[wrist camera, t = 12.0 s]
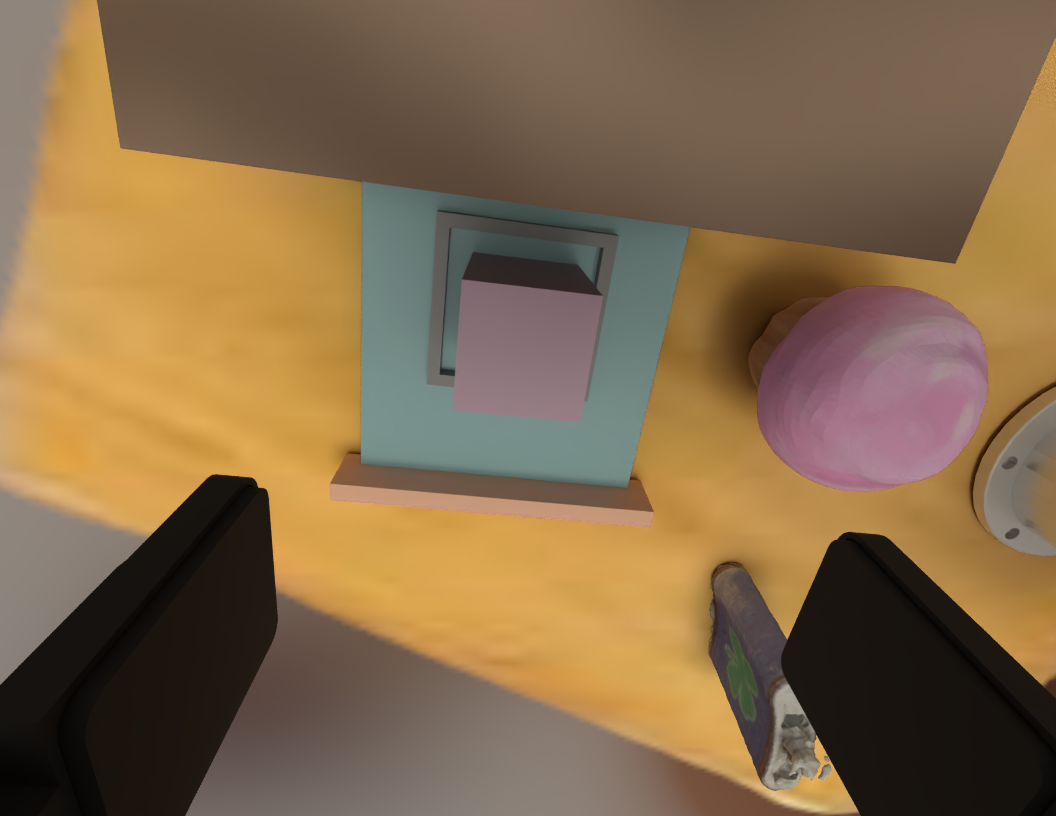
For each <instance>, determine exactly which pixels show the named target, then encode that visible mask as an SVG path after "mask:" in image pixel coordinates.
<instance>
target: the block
mask: <svg viewBox="0 0 1056 816" xmlns="http://www.w3.org/2000/svg"><path fill="white" fill-rule="evenodd" d="M602 300H603V295H602V294H601V293H600V291H599V290H598V289H597V288H596V286H595V285H594V284H593V283H592V281H591V280H590V279H589V278H588V276H587V275H586V274H585V273H584V271H583V270H582V269H581V268H580V266H579V265H576V264H568V263H559V262H551V261H543V260H535V259H527V258H519V257H510V256H502V255H494V254H486V253H478V252H473V253H472V255H471V258H470V260H469V263H468V265H467V268H466V270H465V273H464V275H463V278H462V285H461V299H460V312H459V326H458V339H457V353H456V367H455V380H454V394H453V407H452V410H454V411H464V412H474V413H485V414H495V415H506V416H516V417H527V418H537V419H547V420H558V421H568V422H579V423H580V421H581V416H582V410H583V405H584V399H585V394H586V388H587V383H588V377H589V372H590V366H591V361H592V355H593V349H594V344H595V338H596V333H597V327H598V322H599V316H600V311H601V305H602Z"/></svg>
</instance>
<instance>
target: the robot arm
mask: <svg viewBox="0 0 1056 816" xmlns="http://www.w3.org/2000/svg"><path fill="white" fill-rule="evenodd" d="M973 501H974V509H975V511H976V514H977V517H978V520H979V521H980V523H981V524H982V525H983V527H984V528H985V529H986V531H987V532H989V533H990V534H991V535H993V536H994V537H995V538H996V539H998V540H999V541H1000V542H1001V543H1003V544H1005V545H1006V546H1008V547H1010V548H1012V549H1013V550H1015V551H1019V552H1022V553H1026V554H1029V555H1039V556H1056V387H1054V388H1052V389H1050V390H1049V391H1047V392H1045V393H1043V394H1042V395H1040V396H1039V397H1037V398H1036V399H1035V400H1033V401H1032V402H1031V403H1029V404H1028V405H1026V406H1025V407H1024V408H1023V409H1021V410H1020V411H1019V412H1018V413H1017V414H1016V415H1015V416H1014V417H1013V418H1012V419H1011V420H1010V421H1009V422H1008V423H1007V424H1006V425H1005V426H1004V427H1003V428H1002V430H1001V431H1000V432H999V433H998V435H997V436H996V437H995V438H994V440H993V441H992V443H991V444H990V446H989V448H988V449H987V451H986V453H985V454H984V456H983V458H982V460H981V463H980V465H979V468H978V471H977V473H976V476H975V482H974V488H973ZM277 622H278V614H277V601H276V588H275V575H274V561H273V548H272V535H271V522H270V509H269V497H268V492H267V490H266V489H265V488H258V486H257V483H256V481H255V479H253V478H250V477H239V476H228V475H217V474H215V475H211V476H210V477H208V478H207V479H206V480H205V481H204V482H203V483H202V484H201V485H200V486H199V487H198V488H197V489H196V490H195V491H194V492H193V493H192V494H191V495H190V496H189V497H188V498H187V499H186V500H185V501H184V502H183V503H182V504H181V505H180V506H179V507H178V508H177V509H176V510H175V511H174V512H173V513H172V515H171V516H170V517H169V518H168V519H167V520H166V521H165V522H164V523H163V524H162V525H161V526H160V527H159V528H158V529H157V530H156V531H155V532H154V533H153V534H152V535H151V536H150V537H149V538H148V539H147V540H146V541H145V542H144V543H143V544H142V545H141V546H140V547H139V548H138V549H137V550H136V551H135V552H134V553H133V554H132V555H131V556H130V557H129V558H128V559H127V560H126V561H125V562H123V563H122V564H121V565H120V566H118V567H117V568H116V569H115V570H114V571H113V572H112V573H111V574H110V575H109V576H108V577H107V578H106V579H105V580H104V581H103V582H102V583H101V584H100V585H99V586H98V587H97V588H96V589H95V590H94V591H93V592H92V593H91V594H90V595H89V596H88V597H87V598H86V599H85V600H84V601H83V602H82V603H81V604H80V605H79V606H78V607H77V608H76V609H75V610H74V611H73V612H72V613H71V614H70V615H69V616H68V617H67V618H66V619H65V620H64V621H63V622H62V623H61V624H60V625H59V626H58V627H57V628H56V629H55V630H54V631H53V632H52V633H51V634H50V635H49V636H48V637H47V638H46V639H45V640H44V642H42V643H41V644H40V645H39V646H38V648H36V650H34V652H32V653H31V654H30V656H29V657H27V658H26V660H24V662H23V663H22V664H21V665H20V666H19V667H18V668H17V669H16V670H15V671H14V672H13V673H12V674H11V675H10V676H9V677H8V678H7V679H6V680H5V681H4V682H3V683H2V684H1V685H0V816H185V815H186V813H187V811H188V809H189V807H190V805H191V803H192V800H193V799H194V797H195V795H196V793H197V791H198V789H199V787H200V785H201V783H202V781H203V779H204V777H205V775H206V773H207V771H208V769H209V767H210V765H211V763H212V761H213V759H214V757H215V755H216V753H217V751H218V749H219V747H220V745H221V743H222V741H223V739H224V737H225V735H226V733H227V731H228V729H229V727H230V725H231V723H232V721H233V719H234V717H235V715H236V713H237V711H238V709H239V707H240V705H241V703H242V701H243V699H244V698H245V696H246V694H247V691H248V689H249V687H250V686H251V683H252V682H253V680H254V677H255V676H256V673H257V672H258V670H259V668H260V666H261V664H262V662H263V660H264V658H265V655H266V654H267V652H268V650H269V648H270V646H271V644H272V641H273V639H274V636H275V633H276V628H277ZM781 667H782V671H783V674H784V676H785V678H786V680H787V682H788V684H789V686H790V688H791V689H792V691H793V693H794V695H795V697H796V698H797V700H798V702H799V704H800V706H801V708H802V709H803V711H804V713H805V715H806V717H807V718H808V720H809V722H810V724H811V726H812V728H813V729H814V731H815V733H816V735H817V737H818V738H819V740H820V742H821V744H822V746H823V748H824V749H825V751H826V753H827V755H828V757H829V758H830V760H831V762H832V764H833V766H834V768H835V769H836V771H837V773H838V775H839V777H840V778H841V780H842V782H843V784H844V786H845V788H846V789H847V791H848V793H849V795H850V797H851V798H852V800H853V802H854V804H855V806H856V808H857V809H858V811H859V813H860V815H861V816H1056V698H1055V697H1053V696H1052V695H1051V694H1050V693H1049V692H1048V691H1047V690H1046V689H1045V688H1044V687H1043V686H1042V685H1041V684H1040V683H1039V682H1038V681H1037V680H1036V679H1035V678H1034V677H1033V676H1032V675H1031V674H1029V673H1028V672H1027V671H1026V670H1025V669H1024V668H1023V667H1022V666H1021V665H1020V664H1019V663H1018V662H1017V661H1016V660H1015V659H1014V658H1013V657H1012V656H1011V655H1010V654H1009V653H1008V652H1007V651H1005V650H1004V649H1003V648H1002V647H1001V646H1000V645H999V644H998V643H997V642H996V641H995V640H994V639H993V638H992V637H991V636H990V635H989V634H988V633H987V632H986V631H985V630H984V629H982V628H981V627H980V626H979V625H978V624H977V623H976V622H975V621H974V620H973V619H972V618H971V617H970V616H969V615H968V614H967V613H966V612H965V611H964V610H963V609H962V608H961V607H960V606H958V605H957V604H956V603H955V602H954V601H953V600H952V599H951V598H950V597H949V596H948V595H947V594H946V593H945V592H944V591H943V590H942V589H941V588H940V587H939V586H938V585H937V584H936V583H934V582H933V581H932V580H931V579H930V578H929V577H928V576H927V575H926V574H925V573H924V572H923V571H922V570H921V569H920V568H919V567H918V566H917V565H916V564H915V563H914V562H913V561H912V560H910V559H909V558H908V557H907V556H906V555H905V554H904V553H903V552H902V551H901V550H900V549H899V548H898V547H897V546H896V545H895V544H894V543H893V542H892V541H891V540H889V539H888V538H887V537H885V536H882V535H878V534H867V533H856V532H847V533H844V534H842V535H841V536H840V537H839V538H838V540H834V541H833V542H831V544H830V545H829V547H828V549H827V551H826V554H825V556H824V558H823V561H822V563H821V565H820V567H819V570H818V572H817V574H816V576H815V579H814V581H813V583H812V586H811V588H810V590H809V592H808V595H807V597H806V599H805V601H804V604H803V606H802V608H801V610H800V613H799V615H798V617H797V620H796V622H795V624H794V626H793V629H792V631H791V633H790V635H789V638H788V640H787V642H786V645H785V647H784V649H783V651H782V655H781Z"/></svg>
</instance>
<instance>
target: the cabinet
mask: <svg viewBox="0 0 1056 816" xmlns="http://www.w3.org/2000/svg"><path fill="white" fill-rule="evenodd" d="M97 3H98V9H99V16H100V22H101V28H102V35H103V41H104V47H105V53H106V60H107V66H108V72H109V79H110V85H111V91H112V98H113V104H114V110H115V117H116V123H117V129H118V135H119V142H120V148H122V149H130V150H137V151H144V152H151V153H159V154H166V155H173V156H180V157H188V158H195V159H202V160H209V161H217V162H224V163H231V164H238V165H245V166H253V167H260V168H267V169H274V170H282V171H289V172H296V173H303V174H311V175H318V176H325V177H332V178H339V179H347V180H354V181H361V182H368V183H376V184H383V185H390V186H397V187H405V188H412V189H419V190H426V191H433V192H441V193H448V194H455V195H462V196H470V197H477V198H484V199H491V200H499V201H506V202H513V203H520V204H527V205H535V206H542V207H549V208H556V209H564V210H571V211H578V212H585V213H593V214H600V215H607V216H614V217H621V218H629V219H636V220H643V221H650V222H658V223H665V224H672V225H679V226H687V227H694V228H701V229H708V230H715V231H723V232H730V233H737V234H744V235H752V236H759V237H766V238H773V239H781V240H788V241H795V242H802V243H809V244H817V245H824V246H831V247H838V248H846V249H853V250H860V251H867V252H875V253H882V254H889V255H896V256H903V257H911V258H918V259H925V260H932V261H940V262H947V263H954V264H955V263H956V261H957V258H958V256H959V254H960V252H961V249H962V247H963V245H964V243H965V240H966V238H967V236H968V234H969V231H970V229H971V227H972V224H973V222H974V220H975V218H976V215H977V213H978V211H979V209H980V206H981V204H982V202H983V200H984V197H985V195H986V193H987V191H988V188H989V186H990V184H991V182H992V179H993V177H994V175H995V172H996V170H997V168H998V166H999V163H1000V161H1001V159H1002V157H1003V154H1004V152H1005V150H1006V148H1007V145H1008V143H1009V141H1010V139H1011V136H1012V134H1013V132H1014V130H1015V127H1016V125H1017V123H1018V120H1019V118H1020V116H1021V114H1022V111H1023V109H1024V107H1025V105H1026V102H1027V100H1028V98H1029V96H1030V93H1031V91H1032V89H1033V87H1034V84H1035V82H1036V80H1037V78H1038V75H1039V73H1040V71H1041V68H1042V66H1043V64H1044V62H1045V59H1046V57H1047V55H1048V53H1049V50H1050V48H1051V46H1052V44H1053V41H1054V39H1055V37H1056V0H97Z"/></svg>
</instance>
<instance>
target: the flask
mask: <svg viewBox="0 0 1056 816" xmlns="http://www.w3.org/2000/svg"><path fill="white" fill-rule="evenodd" d="M730 564H733V565H730ZM730 564H726V565H719V566H718V567H717V570H716V572H715V573H714V575H713V577H712V581H711V584H710V588H711V589H712V590H713V599H712V603H711V608H710V609H709V610H710V616H711V617H712V619H713V622H714V625H713V627H711V628H710V629H711V631H712V633H713V634H712V638H711V639H710V640H709V641H710V646H709V652H708V654H709V655H710V657H711V659H712V662H713V664H714V667H715V669H716V671H717V673H718V676H719V678H720V681H721V684H722V685H723V688H724V690H725V693H726V696H727V699H728V701H729V703H730V706H731V709H732V711H733V713H734V715H735V718H736V720H737V723H738V726H739V728H740V731H741V734H742V736H743V737H744V740H745V744H746V746H747V748H748V751H749V753H750V755H751V757H752V760H753V764H754V766H755V768H756V771H757V774H758V776H759V778H760V780H761V782H762V784H763V785H764V786H766V787H767V788H768V789H771V790H775V791H777V790H781V789H782V790H784V789H791V788H793V787H795V786H797V784H798V782H799V780H800V779H801V777H802V775H804V776H805V777H808V778H811V780H812V779H813V778H814V777H815V775H816V773H817V772H818V770H817V769H818V768H819V766H820V762H819V760H818V759H817V758H816V757H815V753H814V748H815V744H814V741H815V740H816V733H815V731H814V729H813V728H812V726H811V724H810V722H809V720H808V718H807V717H806V715H805V713H804V711H803V709H802V708H801V706H800V704H799V702H798V700H797V698H796V697H795V695H794V693H793V691H792V689H791V688H790V686H789V684H788V682H787V680H786V678H785V676H784V674H783V671H782V667H781V655H782V651H783V649H784V647H785V645H786V642H787V639H786V637H785V635H784V634H783V632H782V630H781V629H780V627H779V625H778V623H777V621H776V620H775V618H774V617H773V615H772V614H771V612H770V611H769V609H768V607H767V605H766V603H765V601H764V599H763V597H762V596H761V594H760V592H759V591H758V589H757V588H756V586H755V585H754V583H753V581H752V579H751V577H750V575H749V574H748V572H747V571H746V570H745V569H744V567H742V565H740V564H737V563H730ZM734 565H737V566H739V567H737V566H734ZM824 759H825V760H826V762H829V759H828V757H827V756H825V757H824ZM830 772H831V766H830V765H829V764H827V765H825V766H824V767H823V768H822V772H821V775H820V776H819V777H818V778H819V779H822V780H824V779H826V777H827V776H828V775H829V773H830Z"/></svg>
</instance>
